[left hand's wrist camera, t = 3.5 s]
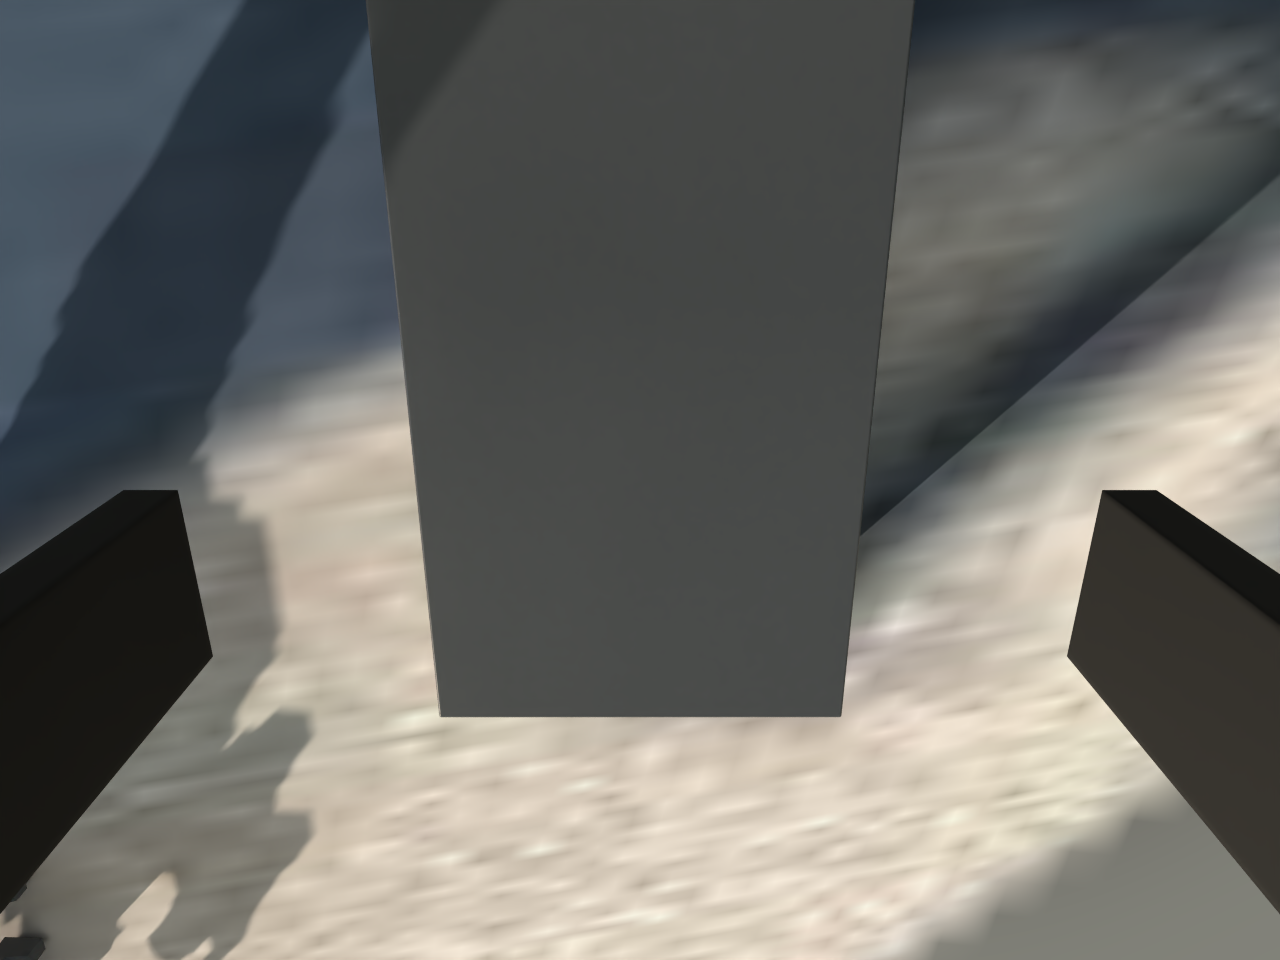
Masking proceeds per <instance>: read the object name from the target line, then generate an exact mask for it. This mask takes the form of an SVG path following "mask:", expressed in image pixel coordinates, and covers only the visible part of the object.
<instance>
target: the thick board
mask: <svg viewBox="0 0 1280 960" xmlns="http://www.w3.org/2000/svg"><path fill="white" fill-rule="evenodd" d="M366 7H367V17H368V26H369V36H370V46H371V55H372V65H373V75H374V85H375V94H376V104H377V114H378V123H379V133H380V143H381V153H382V162H383V172H384V182H385V191H386V201H387V211H388V221H389V230H390V240H391V250H392V259H393V269H394V279H395V289H396V298H397V308H398V318H399V327H400V337H401V347H402V357H403V366H404V376H405V386H406V395H407V405H408V415H409V424H410V434H411V444H412V454H413V463H414V473H415V483H416V492H417V502H418V512H419V522H420V531H421V541H422V551H423V560H424V570H425V580H426V590H427V599H428V609H429V619H430V628H431V638H432V648H433V658H434V667H435V677H436V687H437V696H438V706H439V715H440V717H841V714H842V704H843V694H844V685H845V675H846V665H847V656H848V646H849V636H850V626H851V617H852V607H853V597H854V588H855V578H856V568H857V559H858V549H859V539H860V530H861V520H862V510H863V501H864V491H865V481H866V472H867V462H868V452H869V443H870V433H871V423H872V413H873V404H874V394H875V384H876V375H877V365H878V355H879V346H880V336H881V326H882V317H883V307H884V297H885V288H886V278H887V268H888V259H889V249H890V239H891V230H892V220H893V210H894V200H895V191H896V181H897V171H898V162H899V152H900V142H901V133H902V123H903V113H904V104H905V94H906V84H907V75H908V65H909V55H910V46H911V36H912V26H913V17H914V7H915V0H366Z"/></svg>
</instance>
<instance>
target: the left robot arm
mask: <svg viewBox="0 0 1280 960" xmlns="http://www.w3.org/2000/svg"><path fill="white" fill-rule="evenodd" d="M212 657H213V654H212V650H211V645H210V640H209V635H208V631H207V626H206V621H205V617H204V612H203V607H202V603H201V598H200V593H199V588H198V584H197V579H196V574H195V570H194V565H193V560H192V555H191V551H190V546H189V541H188V537H187V532H186V527H185V523H184V518H183V513H182V508H181V504H180V499H179V494H178V490H123V491H122V492H120V493H119V494H117V495H116V496H114V497H113V498H111V499H110V500H109V501H107V502H106V503H104V504H103V505H101V506H100V507H98V508H97V509H95V510H94V511H92V512H91V513H89V514H88V515H86V516H85V517H84V518H82V519H81V520H79V521H78V522H76V523H75V524H73V525H72V526H70V527H69V528H67V529H66V530H64V531H63V532H61V533H60V534H59V535H57V536H56V537H54V538H53V539H51V540H50V541H48V542H47V543H45V544H44V545H42V546H41V547H39V548H38V549H36V550H35V551H34V552H32V553H31V554H29V555H28V556H26V557H25V558H23V559H22V560H20V561H19V562H17V563H16V564H14V565H13V566H12V567H10V568H9V569H7V570H6V571H4V572H3V573H1V574H0V914H1V912H2V911H3V910H4V909H5V908H6V906H7V905H8V904H9V903H10V902H11V900H12V899H13V898H14V897H15V895H16V894H17V893H18V892H19V891H20V889H21V888H22V887H23V886H24V885H25V883H26V882H27V881H28V880H29V878H30V877H31V876H32V875H33V874H34V872H35V871H36V870H37V869H38V868H39V866H40V865H41V864H42V863H43V862H44V860H45V859H46V858H47V857H48V855H49V854H50V853H51V852H52V851H53V849H54V848H55V847H56V846H57V845H58V843H59V842H60V841H61V840H62V839H63V837H64V836H65V835H66V834H67V832H68V831H69V830H70V829H71V828H72V826H73V825H74V824H75V823H76V822H77V820H78V819H79V818H80V817H81V816H82V814H83V813H84V812H85V811H86V809H87V808H88V807H89V806H90V805H91V803H92V802H93V801H94V800H95V799H96V797H97V796H98V795H99V794H100V792H101V791H102V790H103V789H104V788H105V786H106V785H107V784H108V783H109V782H110V780H111V779H112V778H113V777H114V776H115V774H116V773H117V772H118V771H119V769H120V768H121V767H122V766H123V765H124V763H125V762H126V761H127V760H128V759H129V757H130V756H131V755H132V754H133V753H134V751H135V750H136V749H137V748H138V746H139V745H140V744H141V743H142V742H143V740H144V739H145V738H146V737H147V736H148V734H149V733H150V732H151V731H152V730H153V728H154V727H155V726H156V725H157V723H158V722H159V721H160V720H161V719H162V717H163V716H164V715H165V714H166V713H167V711H168V710H169V709H170V708H171V706H172V705H173V704H174V703H175V702H176V700H177V699H178V698H179V697H180V696H181V694H182V693H183V692H184V691H185V690H186V688H187V687H188V686H189V685H190V683H191V682H192V681H193V680H194V679H195V677H196V676H197V675H198V674H199V673H200V671H201V670H202V669H203V668H204V667H205V665H206V664H207V663H208V662H209V660H210V659H211V658H212ZM1067 657H1068V658H1069V659H1070V660H1071V662H1072V663H1073V664H1074V665H1075V667H1076V668H1077V669H1078V670H1079V671H1080V673H1081V674H1082V675H1083V676H1084V677H1085V679H1086V680H1087V681H1088V682H1089V683H1090V685H1091V686H1092V687H1093V688H1094V690H1095V691H1096V692H1097V693H1098V694H1099V696H1100V697H1101V698H1102V699H1103V700H1104V702H1105V703H1106V704H1107V705H1108V706H1109V708H1110V709H1111V710H1112V711H1113V713H1114V714H1115V715H1116V716H1117V717H1118V719H1119V720H1120V721H1121V722H1122V723H1123V725H1124V726H1125V727H1126V728H1127V730H1128V731H1129V732H1130V733H1131V734H1132V736H1133V737H1134V738H1135V739H1136V740H1137V742H1138V743H1139V744H1140V745H1141V746H1142V748H1143V749H1144V750H1145V751H1146V753H1147V754H1148V755H1149V756H1150V757H1151V759H1152V760H1153V761H1154V762H1155V763H1156V765H1157V766H1158V767H1159V768H1160V769H1161V771H1162V772H1163V773H1164V774H1165V776H1166V777H1167V778H1168V779H1169V780H1170V782H1171V783H1172V784H1173V785H1174V786H1175V788H1176V789H1177V790H1178V791H1179V792H1180V794H1181V795H1182V796H1183V797H1184V799H1185V800H1186V801H1187V802H1188V803H1189V805H1190V806H1191V807H1192V808H1193V809H1194V811H1195V812H1196V813H1197V814H1198V815H1199V817H1200V818H1201V819H1202V820H1203V822H1204V823H1205V824H1206V825H1207V826H1208V828H1209V829H1210V830H1211V831H1212V832H1213V834H1214V835H1215V836H1216V837H1217V839H1218V840H1219V841H1220V842H1221V843H1222V845H1223V846H1224V847H1225V848H1226V849H1227V851H1228V852H1229V853H1230V854H1231V855H1232V857H1233V858H1234V859H1235V860H1236V862H1237V863H1238V864H1239V865H1240V866H1241V868H1242V869H1243V870H1244V871H1245V872H1246V874H1247V875H1248V876H1249V877H1250V878H1251V880H1252V881H1253V882H1254V883H1255V885H1256V886H1257V887H1258V888H1259V889H1260V891H1261V892H1262V893H1263V894H1264V895H1265V897H1266V898H1267V899H1268V900H1269V901H1270V903H1271V904H1272V905H1273V906H1274V908H1275V909H1276V910H1277V911H1278V912H1279V914H1280V574H1279V573H1277V572H1276V571H1274V570H1273V569H1271V568H1270V567H1268V566H1267V565H1266V564H1264V563H1263V562H1261V561H1260V560H1258V559H1257V558H1255V557H1254V556H1252V555H1251V554H1249V553H1248V552H1246V551H1245V550H1244V549H1242V548H1241V547H1239V546H1238V545H1236V544H1235V543H1233V542H1232V541H1230V540H1229V539H1227V538H1226V537H1224V536H1223V535H1221V534H1220V533H1219V532H1217V531H1216V530H1214V529H1213V528H1211V527H1210V526H1208V525H1207V524H1205V523H1204V522H1202V521H1201V520H1199V519H1198V518H1196V517H1195V516H1194V515H1192V514H1191V513H1189V512H1188V511H1186V510H1185V509H1183V508H1182V507H1180V506H1179V505H1177V504H1176V503H1174V502H1173V501H1171V500H1170V499H1169V498H1167V497H1166V496H1164V495H1163V494H1161V493H1160V492H1158V491H1157V490H1102V494H1101V499H1100V504H1099V508H1098V513H1097V518H1096V523H1095V527H1094V532H1093V537H1092V541H1091V546H1090V551H1089V555H1088V560H1087V565H1086V570H1085V574H1084V579H1083V584H1082V588H1081V593H1080V598H1079V603H1078V607H1077V612H1076V617H1075V621H1074V626H1073V631H1072V635H1071V640H1070V645H1069V650H1068V654H1067Z"/></svg>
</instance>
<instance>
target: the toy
mask: <svg viewBox="0 0 1280 960" xmlns="http://www.w3.org/2000/svg"><path fill="white" fill-rule="evenodd" d="M26 889H27V886H26V883H25V885H24V886H23V887H22V888H21V889H20V891H19V892H18V893H17V894H16V895H15V897H14V898H13V899H12V900H11V902H13V901H16V900H18V898H19V897H20V896H21V895H22V893H23V892H24V891H25V890H26ZM44 950H45V946H44V943H43V939H42V938H17V937H5V938H4V939H3V940H2V941H1V943H0V960H38V958H39V957H40V956H41V954H42V953H43V951H44Z"/></svg>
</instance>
